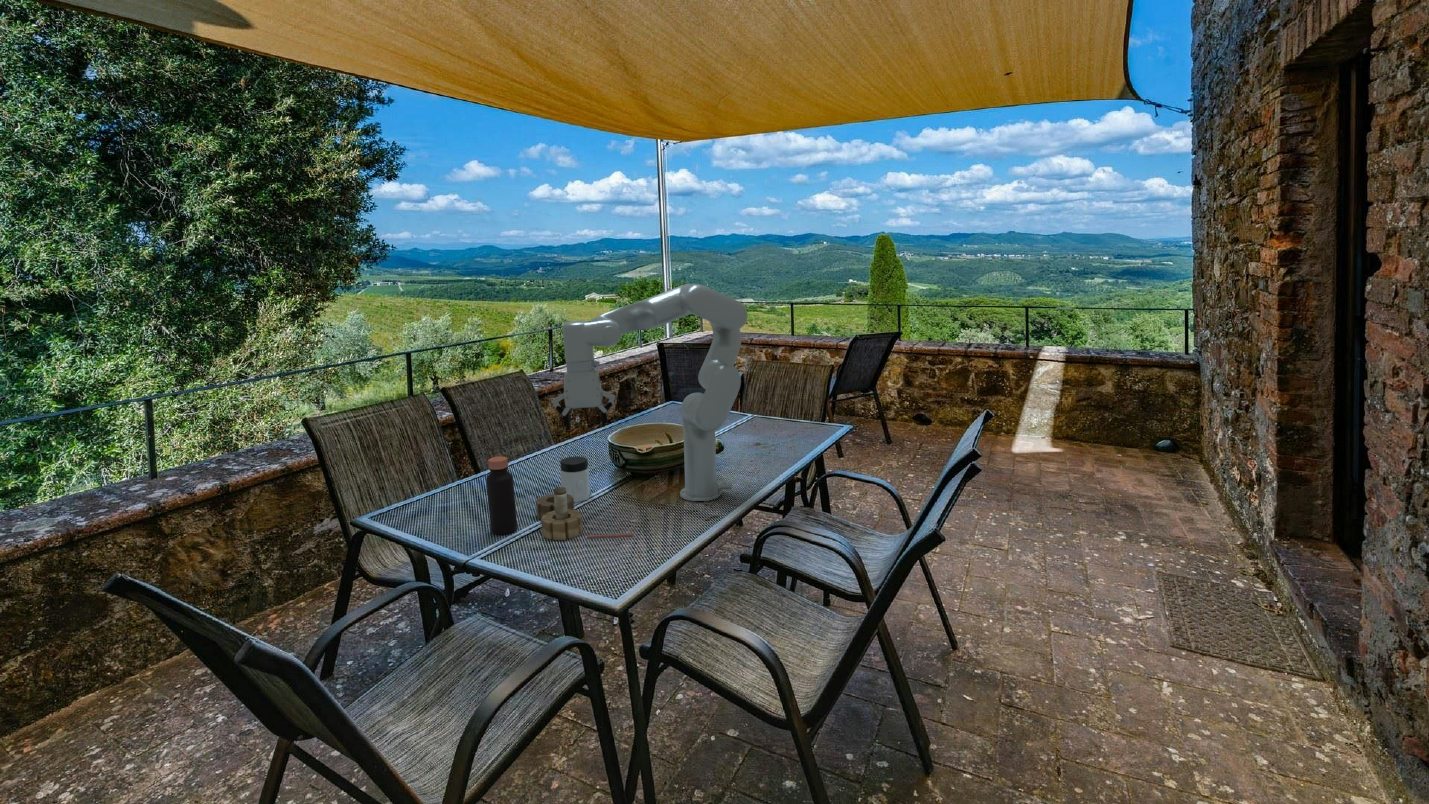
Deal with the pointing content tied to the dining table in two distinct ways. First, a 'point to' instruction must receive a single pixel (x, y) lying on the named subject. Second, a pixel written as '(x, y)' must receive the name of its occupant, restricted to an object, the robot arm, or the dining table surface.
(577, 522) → the bead
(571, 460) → the jar
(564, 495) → the dowel
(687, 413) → the robot arm
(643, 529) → the dining table surface
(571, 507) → the bead
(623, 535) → the reddish brown square stick
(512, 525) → the bottle
